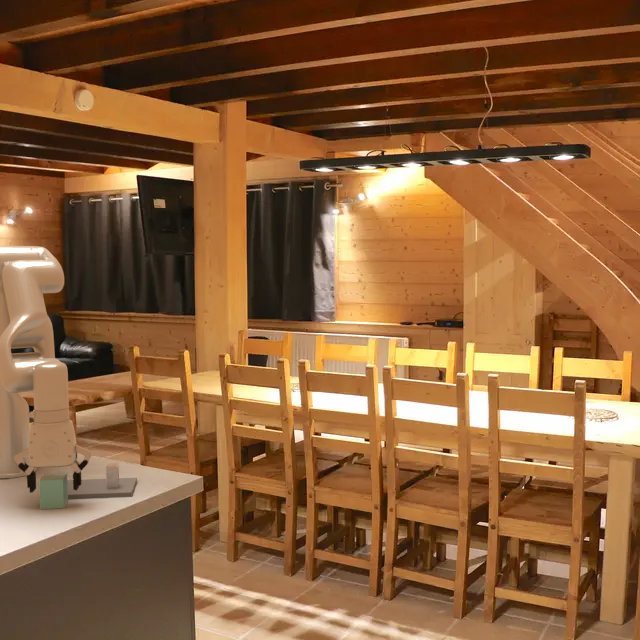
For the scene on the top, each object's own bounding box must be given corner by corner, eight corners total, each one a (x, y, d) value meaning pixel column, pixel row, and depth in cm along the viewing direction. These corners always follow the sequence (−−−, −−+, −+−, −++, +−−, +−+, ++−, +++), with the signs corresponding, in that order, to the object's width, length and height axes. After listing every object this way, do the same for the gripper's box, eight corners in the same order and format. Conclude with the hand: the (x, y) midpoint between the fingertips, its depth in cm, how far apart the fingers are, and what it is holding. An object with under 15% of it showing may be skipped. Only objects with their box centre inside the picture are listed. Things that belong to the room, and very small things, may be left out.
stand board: (53, 499, 180) (53, 495, 180) (64, 484, 192) (63, 480, 192) (131, 496, 183) (131, 492, 182) (137, 481, 194) (136, 477, 194)
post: (106, 488, 185) (106, 466, 185) (108, 485, 188) (107, 463, 187) (117, 488, 186) (117, 466, 185) (119, 484, 188) (118, 463, 188)
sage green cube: (40, 508, 174) (39, 480, 173) (45, 501, 179) (44, 474, 178) (63, 508, 174) (62, 479, 174) (68, 500, 179) (67, 473, 179)
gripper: (8, 420, 170) (11, 496, 171) (88, 418, 172) (90, 492, 173) (17, 414, 177) (20, 487, 178) (93, 411, 179) (96, 483, 180)
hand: (54, 489), depth 176 cm, fingers open, 9 cm apart
